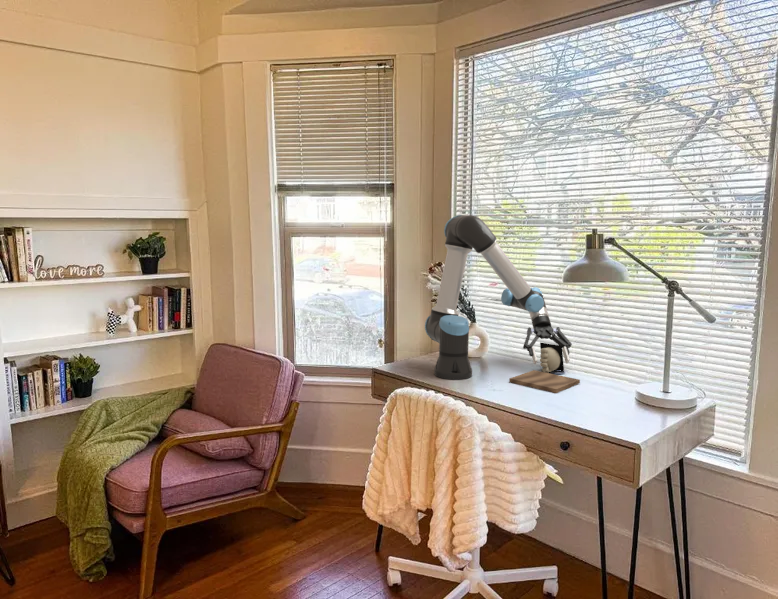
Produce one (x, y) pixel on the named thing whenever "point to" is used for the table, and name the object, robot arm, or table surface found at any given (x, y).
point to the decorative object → (551, 357)
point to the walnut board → (544, 381)
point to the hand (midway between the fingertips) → (551, 362)
